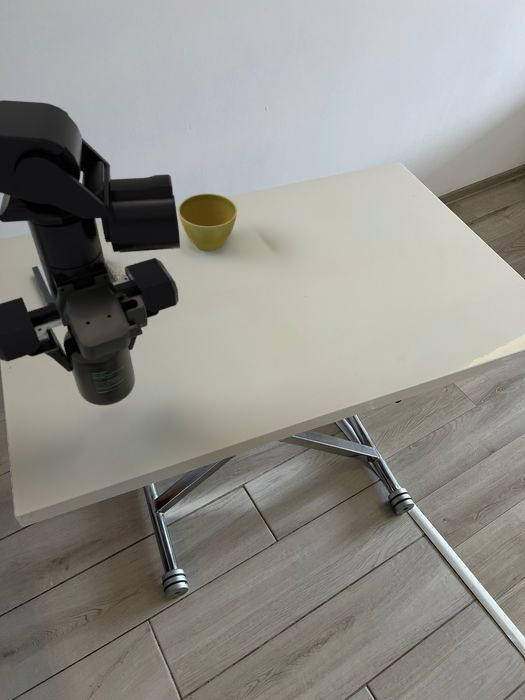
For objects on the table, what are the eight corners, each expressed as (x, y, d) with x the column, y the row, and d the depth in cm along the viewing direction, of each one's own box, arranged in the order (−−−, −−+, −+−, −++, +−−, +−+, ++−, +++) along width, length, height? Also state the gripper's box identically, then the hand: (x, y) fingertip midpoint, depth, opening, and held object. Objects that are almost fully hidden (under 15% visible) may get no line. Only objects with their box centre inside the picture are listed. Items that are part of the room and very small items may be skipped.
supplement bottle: (75, 370, 67) (52, 300, 58) (130, 358, 68) (115, 288, 59) (82, 413, 62) (58, 345, 53) (140, 399, 64) (126, 330, 55)
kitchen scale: (51, 314, 83) (46, 300, 81) (35, 278, 88) (30, 264, 86) (119, 292, 87) (116, 278, 85) (99, 259, 92) (96, 245, 90)
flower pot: (246, 251, 96) (247, 217, 90) (194, 266, 92) (192, 232, 87) (222, 221, 101) (221, 188, 96) (172, 235, 98) (169, 201, 93)
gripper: (-18, 339, 42) (35, 443, 54) (197, 271, 49) (202, 377, 60) (-42, 259, 48) (10, 368, 60) (151, 209, 55) (164, 315, 67)
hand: (99, 358), depth 62 cm, fingers closed on supplement bottle, 7 cm apart
